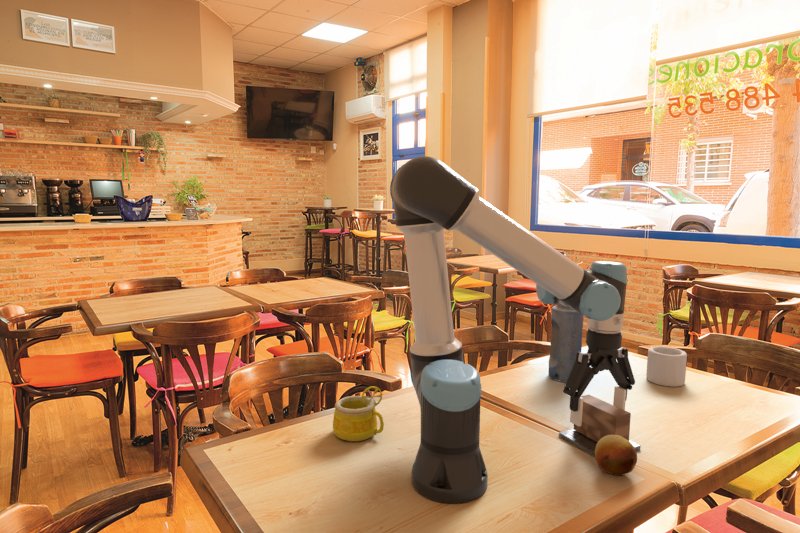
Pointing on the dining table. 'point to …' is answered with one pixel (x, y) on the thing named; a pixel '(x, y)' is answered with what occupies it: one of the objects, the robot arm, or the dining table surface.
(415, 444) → the dining table surface
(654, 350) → the mug
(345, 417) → the mug
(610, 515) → the dining table surface
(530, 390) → the dining table surface
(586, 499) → the dining table surface
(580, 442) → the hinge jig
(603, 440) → the fruit
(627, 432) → the door
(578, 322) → the bottle
